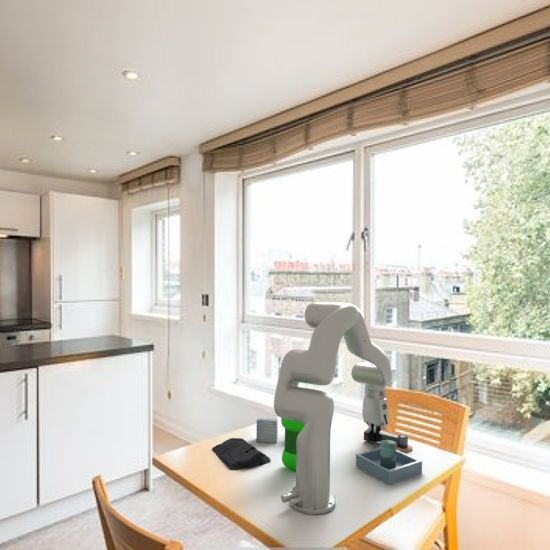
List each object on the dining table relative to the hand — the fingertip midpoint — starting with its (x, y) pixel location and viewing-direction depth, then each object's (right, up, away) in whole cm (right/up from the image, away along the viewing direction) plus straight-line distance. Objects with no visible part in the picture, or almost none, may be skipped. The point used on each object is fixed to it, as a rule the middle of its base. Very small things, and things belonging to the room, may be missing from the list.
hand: (374, 441), depth 161 cm
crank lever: (+5, -1, +1) cm, 5 cm away
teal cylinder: (0, 0, -21) cm, 21 cm away
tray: (0, -1, -21) cm, 21 cm away
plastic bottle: (-31, -1, -20) cm, 37 cm away
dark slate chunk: (-50, -2, -10) cm, 51 cm away
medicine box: (-41, -1, +4) cm, 41 cm away
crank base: (+10, -2, -3) cm, 10 cm away
